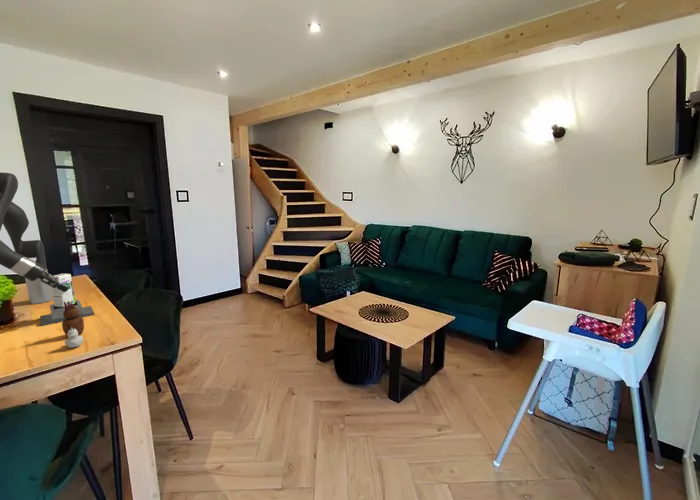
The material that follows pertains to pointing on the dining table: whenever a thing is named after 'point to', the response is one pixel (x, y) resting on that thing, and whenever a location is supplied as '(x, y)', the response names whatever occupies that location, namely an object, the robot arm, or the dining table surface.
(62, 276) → the syrup box
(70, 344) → the rubber duck
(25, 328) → the dining table surface
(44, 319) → the steel sleeve
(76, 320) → the wooden figurine
